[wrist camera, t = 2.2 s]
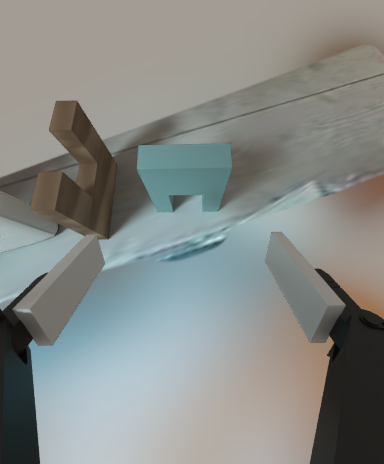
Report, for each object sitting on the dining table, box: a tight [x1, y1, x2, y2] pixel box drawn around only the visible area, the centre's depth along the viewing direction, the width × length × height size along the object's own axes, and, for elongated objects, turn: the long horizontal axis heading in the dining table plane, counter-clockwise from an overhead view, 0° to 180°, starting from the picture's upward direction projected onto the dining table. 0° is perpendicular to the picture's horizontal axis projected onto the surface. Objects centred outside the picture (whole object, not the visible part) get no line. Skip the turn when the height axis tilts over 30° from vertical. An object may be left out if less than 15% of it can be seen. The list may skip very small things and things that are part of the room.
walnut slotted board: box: [29, 101, 117, 239], centre depth 26 cm, size 2×14×12 cm, turn 1°
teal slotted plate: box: [137, 144, 232, 212], centre depth 26 cm, size 10×3×12 cm, turn 91°
